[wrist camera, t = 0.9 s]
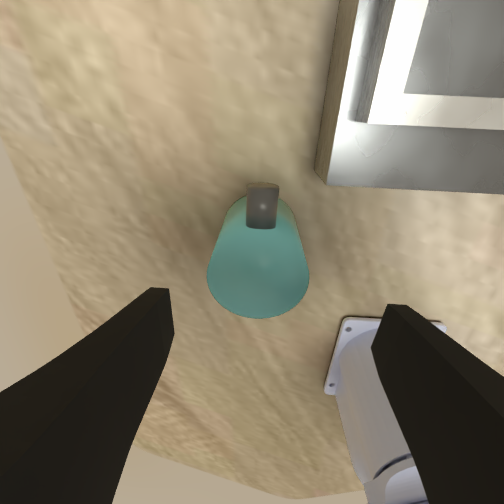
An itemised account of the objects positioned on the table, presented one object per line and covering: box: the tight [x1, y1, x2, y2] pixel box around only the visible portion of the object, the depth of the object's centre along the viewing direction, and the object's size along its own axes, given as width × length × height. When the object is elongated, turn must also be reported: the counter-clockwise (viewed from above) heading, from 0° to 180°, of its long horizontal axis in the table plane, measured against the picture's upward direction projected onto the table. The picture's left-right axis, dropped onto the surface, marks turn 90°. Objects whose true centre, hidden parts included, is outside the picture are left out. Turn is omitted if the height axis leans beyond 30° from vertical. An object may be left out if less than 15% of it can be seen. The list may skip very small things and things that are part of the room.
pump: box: [207, 183, 309, 319], centre depth 15 cm, size 6×5×6 cm
